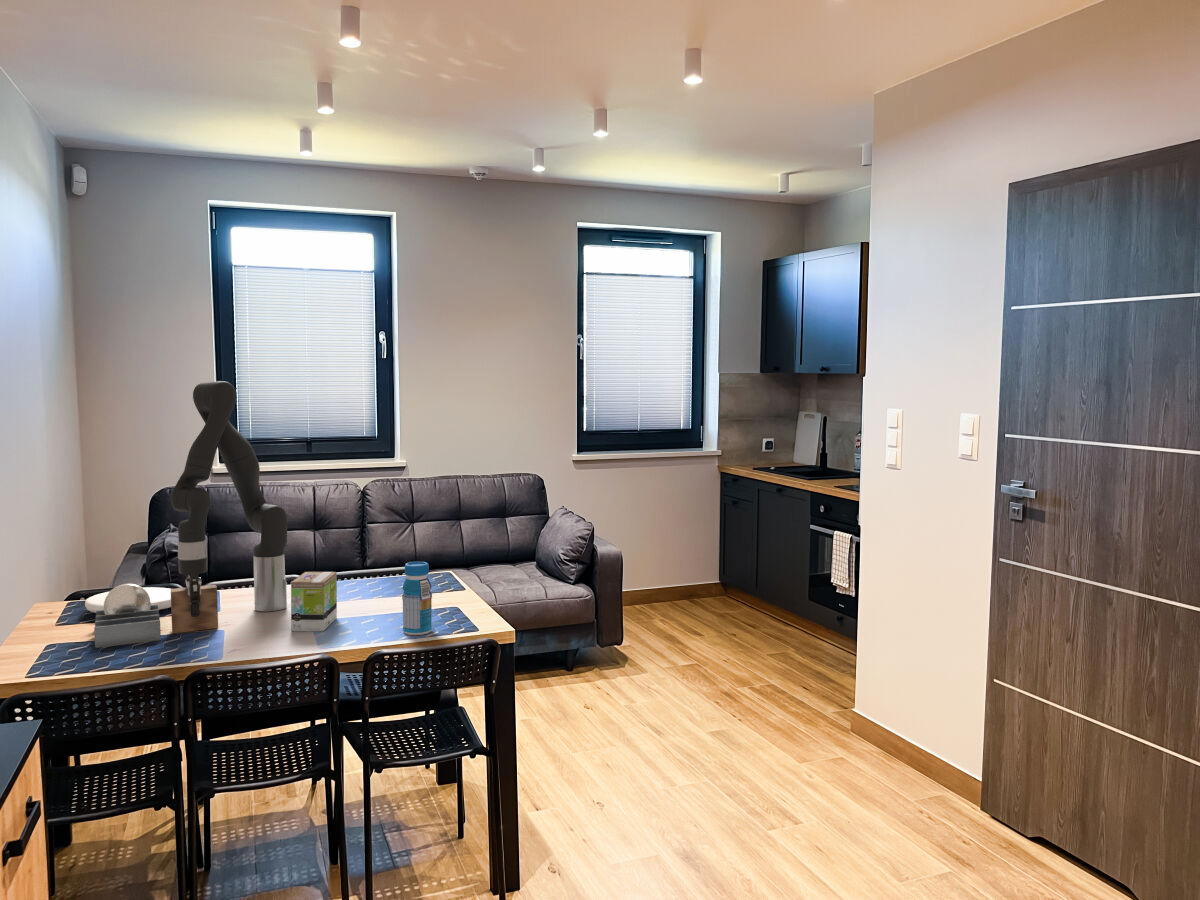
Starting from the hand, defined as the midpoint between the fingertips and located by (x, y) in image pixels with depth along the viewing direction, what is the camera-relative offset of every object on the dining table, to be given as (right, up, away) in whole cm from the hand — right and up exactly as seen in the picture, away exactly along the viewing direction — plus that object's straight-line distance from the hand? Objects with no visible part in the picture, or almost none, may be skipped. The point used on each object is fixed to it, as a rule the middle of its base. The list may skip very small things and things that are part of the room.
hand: (194, 614), depth 260 cm
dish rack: (-17, -5, -5) cm, 18 cm away
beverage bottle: (+65, -5, 0) cm, 65 cm away
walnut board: (0, -4, 0) cm, 4 cm away
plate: (-29, -3, +23) cm, 38 cm away
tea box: (+33, -5, +6) cm, 34 cm away
